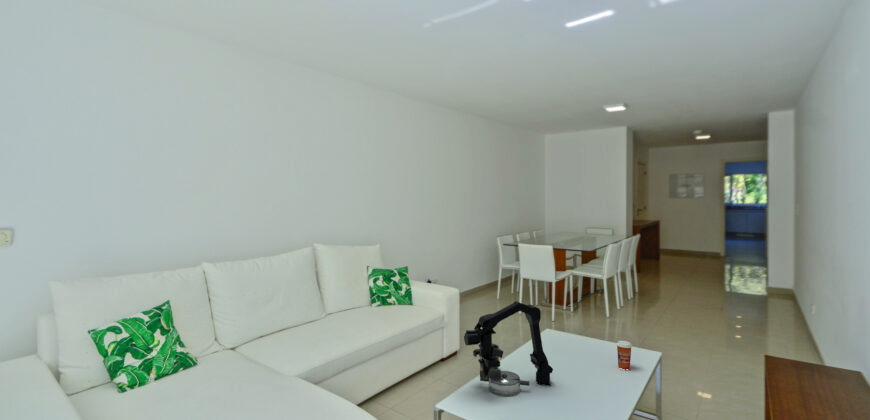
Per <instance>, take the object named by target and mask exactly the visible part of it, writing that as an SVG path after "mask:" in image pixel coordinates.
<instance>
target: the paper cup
mask: <svg viewBox="0 0 870 420" xmlns="http://www.w3.org/2000/svg"><path fill="white" fill-rule="evenodd" d="M616 347H617V364H618V369H619V368H622V369H629V370H630V369H631V356H632V347H633V345H632V343H631V342H629V341H627V340H618V341H617V343H616Z"/></svg>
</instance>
